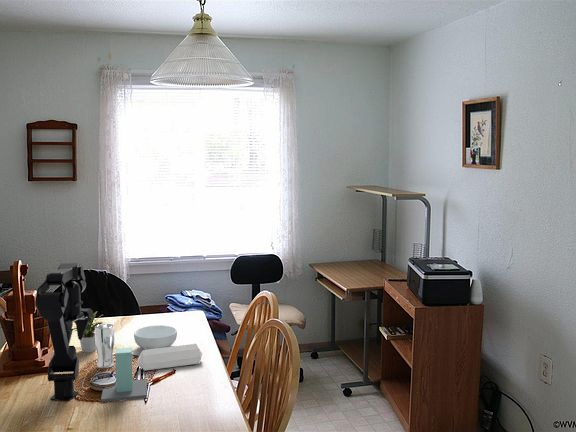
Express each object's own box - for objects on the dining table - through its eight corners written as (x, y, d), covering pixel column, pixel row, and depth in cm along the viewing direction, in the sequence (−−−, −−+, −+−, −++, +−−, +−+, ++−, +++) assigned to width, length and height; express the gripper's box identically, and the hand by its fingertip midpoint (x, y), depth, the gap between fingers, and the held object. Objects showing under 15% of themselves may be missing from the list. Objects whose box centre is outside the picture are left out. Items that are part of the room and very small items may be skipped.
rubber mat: (101, 402, 187) (100, 399, 187) (104, 385, 201) (104, 382, 201) (146, 398, 190) (146, 394, 190) (146, 381, 204) (146, 379, 204)
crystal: (139, 364, 211) (205, 355, 219) (136, 349, 216) (201, 341, 225) (138, 378, 215) (203, 369, 223) (136, 362, 220) (199, 355, 229)
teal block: (116, 392, 192) (115, 353, 191) (117, 386, 197) (115, 348, 196) (132, 390, 194) (131, 352, 192) (132, 385, 198) (131, 347, 197)
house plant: (73, 359, 226) (71, 318, 224) (62, 350, 237) (61, 310, 236) (109, 352, 234) (108, 312, 233) (98, 343, 246) (96, 305, 244)
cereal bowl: (126, 353, 234) (126, 335, 233) (146, 340, 250) (145, 324, 249) (166, 356, 230) (165, 338, 229) (183, 343, 246) (183, 326, 245)
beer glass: (109, 369, 216) (108, 329, 214) (92, 368, 217) (90, 328, 216) (118, 363, 222) (117, 324, 221) (101, 361, 224) (100, 323, 222)
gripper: (64, 292, 213) (65, 334, 215) (34, 305, 195) (36, 351, 196) (93, 293, 211) (94, 335, 213) (65, 306, 193) (67, 353, 195)
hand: (73, 343), depth 204 cm, fingers open, 9 cm apart
